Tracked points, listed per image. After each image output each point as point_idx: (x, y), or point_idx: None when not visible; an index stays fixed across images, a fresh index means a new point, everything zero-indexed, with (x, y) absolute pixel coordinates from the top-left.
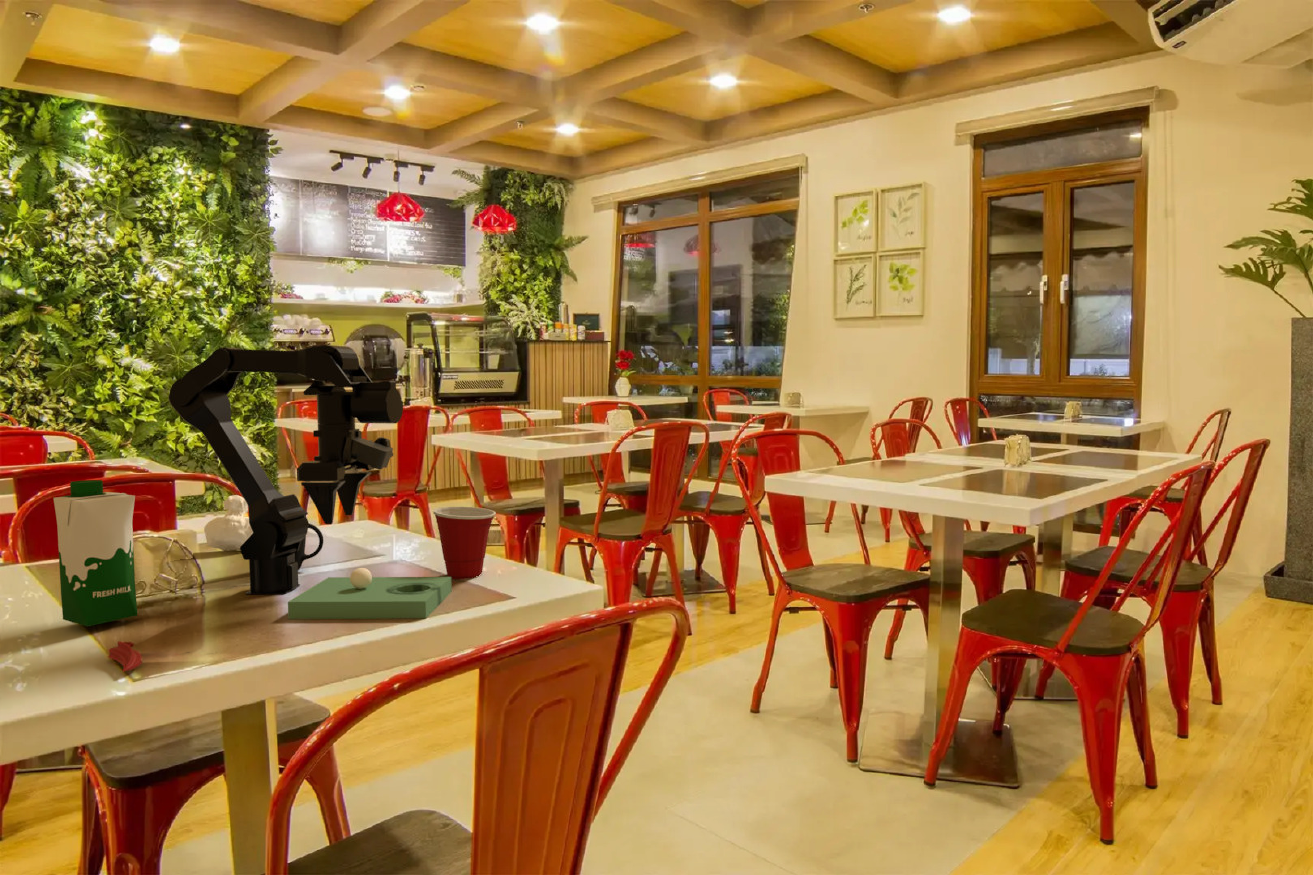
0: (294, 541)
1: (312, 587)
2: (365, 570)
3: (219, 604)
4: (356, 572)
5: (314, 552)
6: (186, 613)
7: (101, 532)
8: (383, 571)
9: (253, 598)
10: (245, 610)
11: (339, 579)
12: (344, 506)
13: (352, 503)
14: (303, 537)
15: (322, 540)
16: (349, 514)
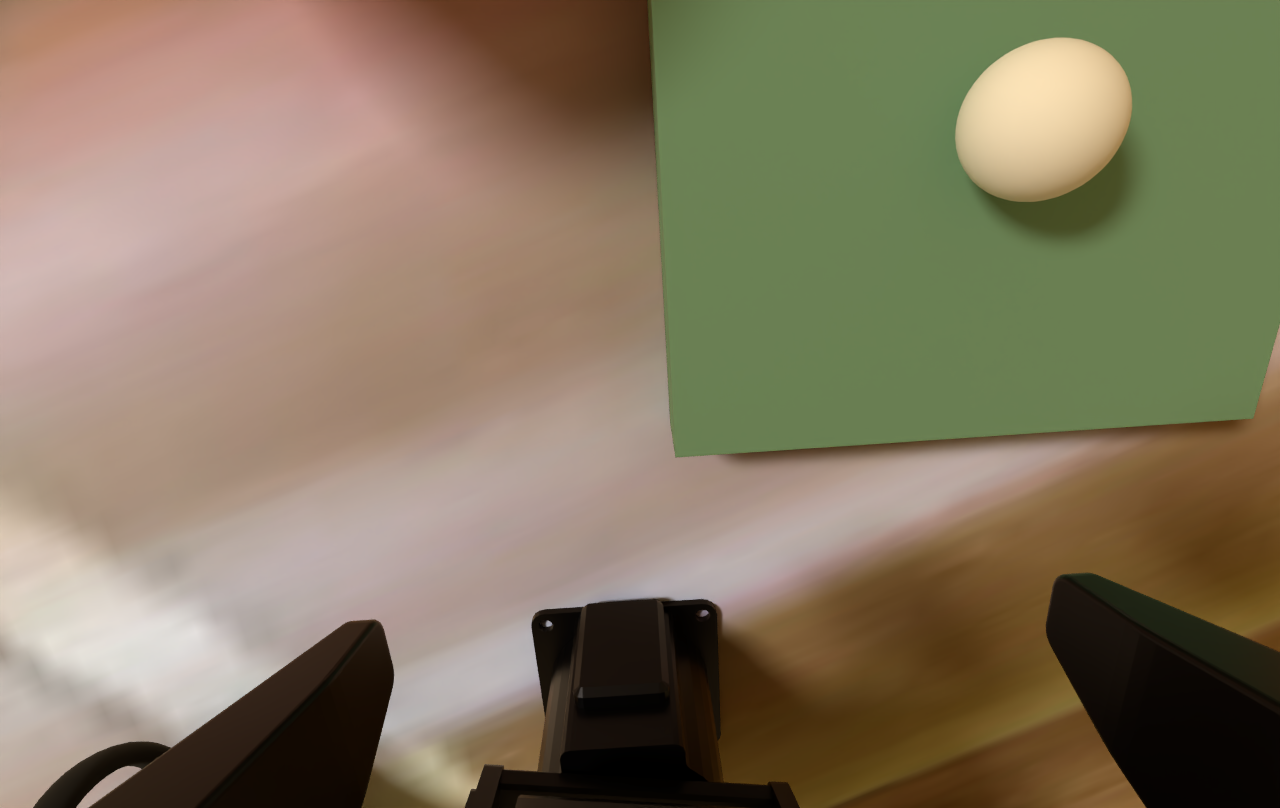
0: (634, 802)
1: (929, 436)
2: (1102, 71)
3: (876, 748)
4: (1123, 134)
5: (150, 758)
6: (1004, 784)
7: None
8: (126, 334)
9: (782, 682)
10: (988, 622)
11: (732, 373)
12: (356, 780)
13: (306, 727)
14: (538, 799)
15: (69, 786)
16: (382, 645)
